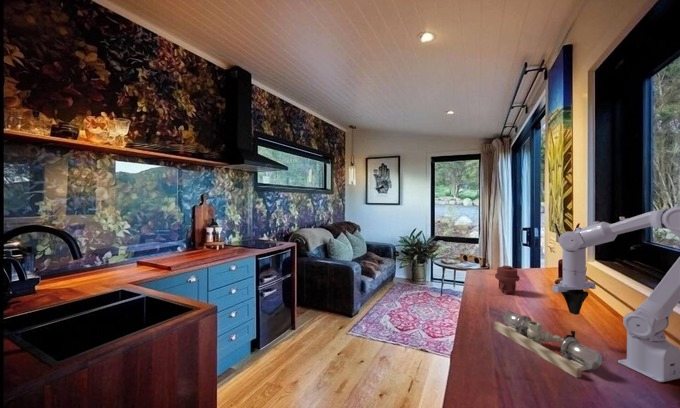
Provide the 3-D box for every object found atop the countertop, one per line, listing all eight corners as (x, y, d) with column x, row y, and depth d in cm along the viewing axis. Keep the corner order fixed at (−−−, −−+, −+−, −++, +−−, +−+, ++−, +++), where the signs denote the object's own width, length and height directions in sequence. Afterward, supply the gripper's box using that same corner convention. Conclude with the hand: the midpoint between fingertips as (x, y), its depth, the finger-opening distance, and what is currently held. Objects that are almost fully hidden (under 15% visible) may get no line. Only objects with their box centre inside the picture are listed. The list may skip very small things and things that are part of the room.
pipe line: (604, 372, 79) (604, 347, 79) (586, 376, 78) (586, 351, 77) (515, 325, 107) (515, 307, 107) (501, 328, 106) (501, 309, 106)
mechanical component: (507, 297, 136) (490, 290, 146) (524, 294, 139) (506, 288, 149) (507, 270, 136) (490, 265, 145) (524, 267, 139) (506, 263, 148)
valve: (525, 346, 93) (575, 358, 86) (525, 325, 93) (575, 335, 86) (528, 338, 98) (574, 349, 91) (528, 318, 98) (575, 327, 91)
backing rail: (581, 376, 77) (581, 367, 77) (576, 377, 77) (576, 368, 77) (497, 328, 105) (497, 321, 105) (493, 329, 105) (493, 321, 105)
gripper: (579, 265, 100) (579, 306, 100) (543, 268, 96) (543, 311, 97) (602, 270, 93) (602, 314, 93) (564, 274, 90) (564, 319, 90)
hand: (574, 313), depth 95 cm, fingers closed
